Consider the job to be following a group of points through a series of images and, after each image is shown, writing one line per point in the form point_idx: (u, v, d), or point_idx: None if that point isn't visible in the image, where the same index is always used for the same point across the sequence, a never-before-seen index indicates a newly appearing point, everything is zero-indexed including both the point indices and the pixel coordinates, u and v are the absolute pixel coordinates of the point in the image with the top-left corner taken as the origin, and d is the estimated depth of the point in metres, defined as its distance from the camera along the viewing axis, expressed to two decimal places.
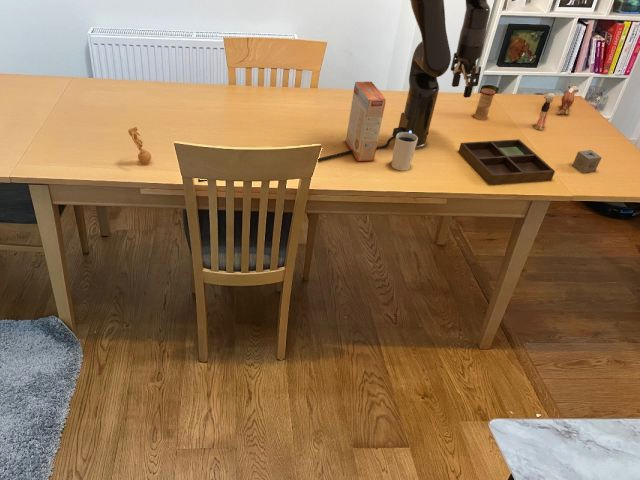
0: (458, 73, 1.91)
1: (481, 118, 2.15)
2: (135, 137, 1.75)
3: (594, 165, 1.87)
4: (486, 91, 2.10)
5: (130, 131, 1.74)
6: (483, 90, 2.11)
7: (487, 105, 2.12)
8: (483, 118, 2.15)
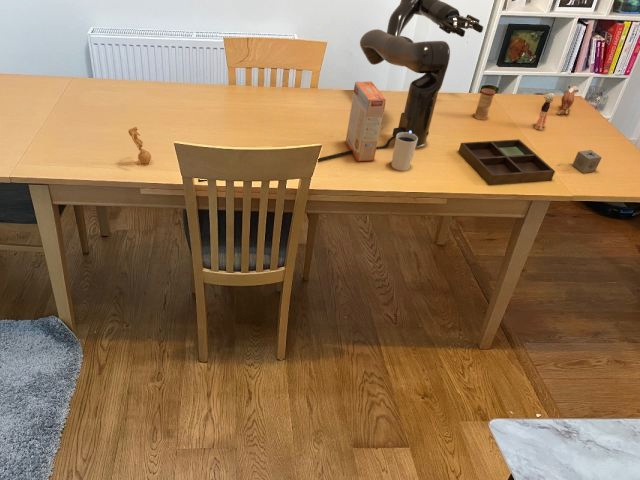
0: (473, 24, 2.13)
1: (481, 118, 2.15)
2: (135, 137, 1.75)
3: (594, 165, 1.87)
4: (486, 91, 2.10)
5: (130, 131, 1.74)
6: (483, 90, 2.11)
7: (487, 105, 2.12)
8: (483, 118, 2.15)
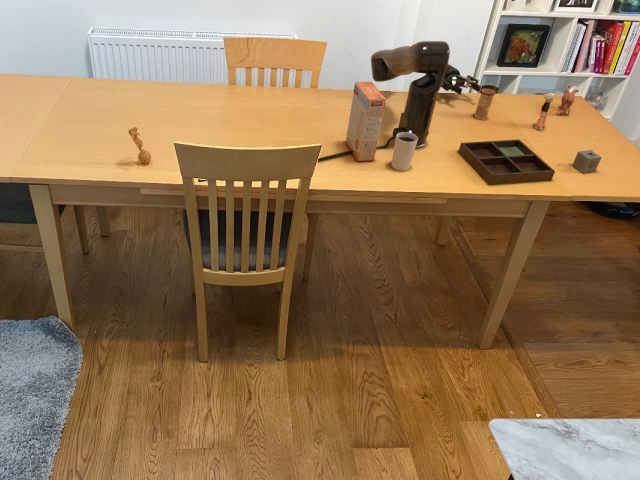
0: (472, 84, 2.23)
1: (481, 118, 2.15)
2: (135, 137, 1.75)
3: (594, 165, 1.87)
4: (486, 91, 2.10)
5: (130, 131, 1.74)
6: (483, 90, 2.11)
7: (487, 105, 2.12)
8: (483, 118, 2.15)
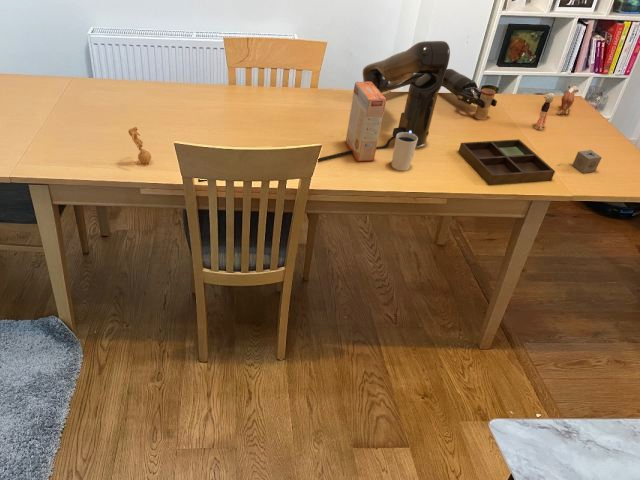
0: None
1: (481, 118, 2.15)
2: (135, 137, 1.75)
3: (594, 165, 1.87)
4: (486, 91, 2.10)
5: (130, 131, 1.74)
6: (483, 90, 2.11)
7: (487, 105, 2.12)
8: (483, 118, 2.15)
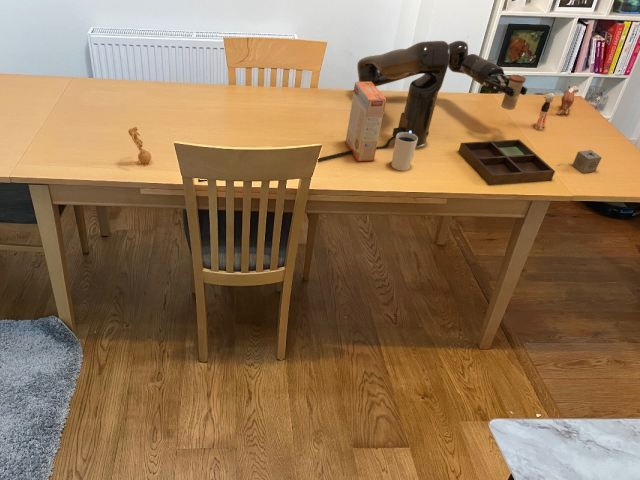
0: None
1: (509, 108, 1.94)
2: (135, 137, 1.75)
3: (594, 165, 1.87)
4: (515, 78, 1.89)
5: (130, 131, 1.74)
6: (512, 76, 1.89)
7: (517, 94, 1.90)
8: (511, 108, 1.94)
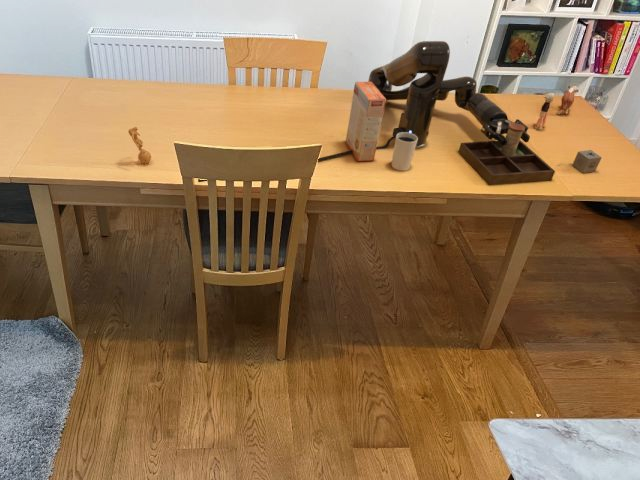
0: None
1: None
2: (135, 137, 1.75)
3: (594, 165, 1.87)
4: (514, 126, 1.86)
5: (130, 131, 1.74)
6: (511, 125, 1.87)
7: (515, 142, 1.88)
8: None
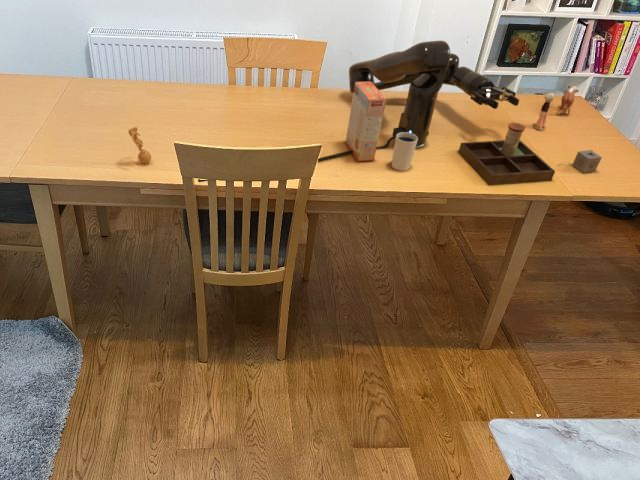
0: (508, 97, 1.96)
1: None
2: (135, 137, 1.75)
3: (594, 165, 1.87)
4: (514, 126, 1.86)
5: (130, 131, 1.74)
6: (511, 125, 1.87)
7: (515, 142, 1.88)
8: None
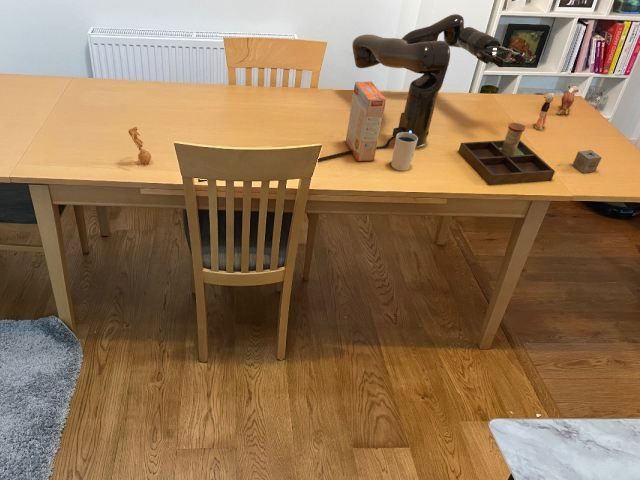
0: (515, 56, 1.92)
1: None
2: (135, 137, 1.75)
3: (594, 165, 1.87)
4: (514, 126, 1.86)
5: (130, 131, 1.74)
6: (511, 125, 1.87)
7: (515, 142, 1.88)
8: None
